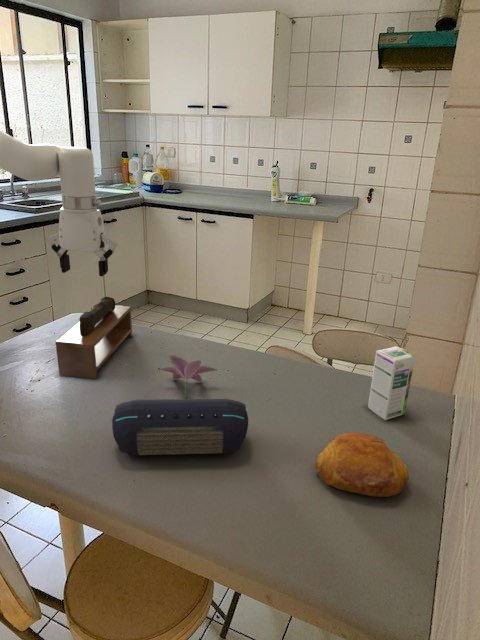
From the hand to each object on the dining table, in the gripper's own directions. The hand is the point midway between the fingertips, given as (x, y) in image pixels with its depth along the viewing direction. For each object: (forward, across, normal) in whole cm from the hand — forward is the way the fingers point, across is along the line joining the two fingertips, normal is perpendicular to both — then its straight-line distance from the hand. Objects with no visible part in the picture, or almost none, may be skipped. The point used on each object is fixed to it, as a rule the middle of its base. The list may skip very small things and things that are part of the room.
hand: (84, 273), depth 115 cm
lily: (+22, -30, +14) cm, 39 cm away
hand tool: (+13, -3, +1) cm, 13 cm away
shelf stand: (+22, -3, +1) cm, 22 cm away
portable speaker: (+22, -34, +35) cm, 53 cm away
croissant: (+21, -67, +36) cm, 79 cm away
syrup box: (+21, -75, +14) cm, 79 cm away
